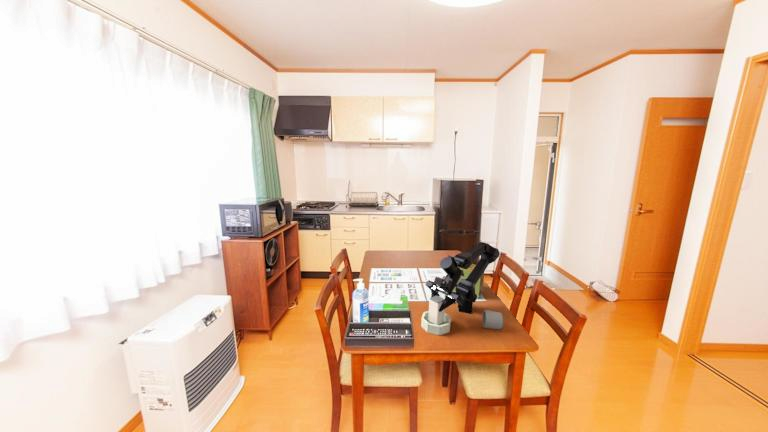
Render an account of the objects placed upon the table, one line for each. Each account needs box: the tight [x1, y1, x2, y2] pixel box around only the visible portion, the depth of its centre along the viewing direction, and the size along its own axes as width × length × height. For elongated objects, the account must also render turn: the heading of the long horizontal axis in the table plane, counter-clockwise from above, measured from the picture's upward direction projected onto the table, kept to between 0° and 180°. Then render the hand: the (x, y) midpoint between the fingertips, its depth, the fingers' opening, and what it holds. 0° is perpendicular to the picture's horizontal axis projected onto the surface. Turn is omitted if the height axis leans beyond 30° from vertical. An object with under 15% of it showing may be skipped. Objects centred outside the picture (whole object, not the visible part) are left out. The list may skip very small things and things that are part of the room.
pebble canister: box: [428, 295, 446, 325], centre depth 118 cm, size 5×5×11 cm
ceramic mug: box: [481, 309, 505, 330], centre depth 120 cm, size 11×8×8 cm
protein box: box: [452, 263, 485, 300], centre depth 151 cm, size 10×15×16 cm
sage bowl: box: [420, 310, 452, 336], centre depth 119 cm, size 13×13×4 cm
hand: (434, 308), depth 117 cm, fingers closed on pebble canister, 5 cm apart
